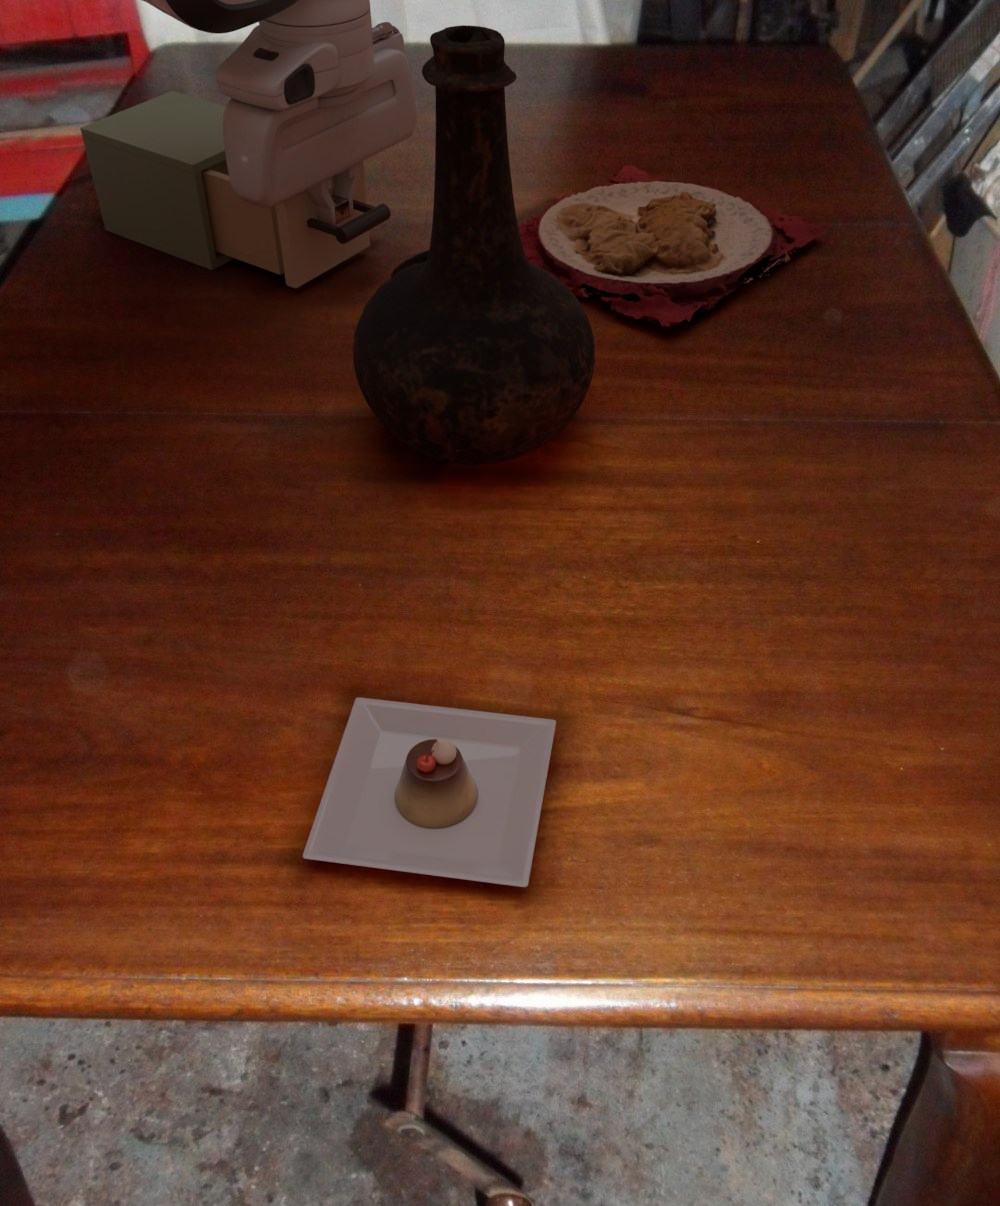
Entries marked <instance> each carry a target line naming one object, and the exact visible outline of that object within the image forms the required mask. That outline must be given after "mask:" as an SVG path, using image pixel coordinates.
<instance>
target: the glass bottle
mask: <svg viewBox="0 0 1000 1206" xmlns="http://www.w3.org/2000/svg"><path fill="white" fill-rule="evenodd" d="M429 43H430V45H431V48H432V52H433V55H432V56H431V57H430V58H429V59H428V60H427V61H426V62H425V63H424V64H423V66H422V69H421V75H422V77H423V79H424V80H425V82H426V83H428V84H429V85H431V86H433V87H434V88H435V89H434V90H435V147H434V150H435V151H434V154H435V155H434V187H433V210H432V223H431V233H430V242H429V249H428V250H424V251H423V252H420V253H417V254H414V255H413V256H412V257H409V258H407V259H405V260H404V261H402V262H401V263H400V264H398V266H397V267H394V269H393V270H392V272H391V273H390V277H389V278H388V279H386V280H385V281H384V282H383V283H382V284H381V285H380V286H379V287H378V288H377V289H376V291H375V292H374V294H373V295H372V296H371V297H370V299H368V301H367V302H366V304H365V305H364V307H363V311H362V313H361V315H360V317H359V319H358V322H357V325H356V327H355V330H354V334H353V345H352V358H353V367H354V374H355V375H356V381H357V383H358V386H359V387H358V388H359V389H360V391H361V394H362V396H363V398H364V400H365V401H366V403H367V406H368V407H369V409H370V410H371V411H372V413H373V414H374V416H375V417H376V418H377V420H378V421H379V422H380V423H381V425H383V426H384V427H385V429H386V430H388V431H389V433H391V434H392V435H393V436H394V437H395V438H397V440H399V441H400V442H402V443H403V444H404V445H405V446H406V447H409V448H410V449H412V450H414V451H415V452H417V453H420V454H421V455H424V456H426V457H429V458H432V459H433V460H437V461H441V462H444V463H449V464H455V465H461V466H462V465H463V466H483V465H493V464H497V463H505V462H507V461H512V460H515V459H517V458H520V457H523V456H525V455H527V454H529V453H531V452H533V451H535V450H538V449H539V448H541V447H542V446H544V445H546V444H547V443H548V442H549V441H551V440H553V438H555V437H556V436H557V435H558V434H559V433H560V432H561V431H563V429H565V427H566V426H567V425H568V424H569V423H570V422H571V420H572V419H573V418H574V417H575V415H576V413H577V412H578V411H579V409H580V408H581V405H582V404H583V402H584V400H585V398H586V396H587V393H588V391H589V389H590V387H591V384H592V379H593V375H594V371H595V370H594V369H595V363H596V347H595V346H596V345H595V338H594V333H593V329H592V326H591V323H590V320H589V317H588V314H587V313H586V311H585V309H584V307H583V305H582V304H581V302H580V301H579V299H578V298H577V296H576V297H575V295H574V294H573V293H572V292H571V290H570V289H569V288H568V287H567V286H566V285H565V284H564V283H562V282H561V281H560V280H559V279H558V278H557V277H555V276H554V275H553V274H551V273H549V272H548V271H546V270H544V269H543V268H541V267H539V266H537V265H534V264H532V263H530V262H528V260H527V258H526V255H525V252H524V249H523V245H522V241H521V238H520V234H519V229H518V224H519V223H518V218H517V212H516V211H517V210H516V204H515V200H514V199H515V198H514V192H513V182H512V175H511V174H512V173H511V165H510V163H511V162H510V153H509V152H510V151H509V142H508V141H509V140H508V139H509V138H508V127H507V109H506V89H505V87H506V88H507V87H509V86H510V85H512V84H513V83H514V82H516V80H517V79H518V75H517V74H516V72H514V71H513V70H512V68H510V66H509V65H508V64H507V63H506V61H505V50H506V49H505V48H506V47H505V46H506V41H505V38H504V36H503V35H502V33H501V32H499V31H498V30H496V29H493V28H489V27H486V26H479V25H453V26H448V27H445V28H443V29H441V30H438V31H436V32H433V33H431V35H430V37H429Z"/></svg>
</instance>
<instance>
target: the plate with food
mask: <svg viewBox="0 0 1000 1206" xmlns="http://www.w3.org/2000/svg"><path fill="white" fill-rule="evenodd" d="M659 173H660V174H661V171H660V172H659ZM608 179H609V180H608V181H609V182H607V183H605V184H600V185H594V186H591V188H587V189H586V191H584V192H576V193H574V192H572V193H569V194H568V195H562V197H560V198H558V197H556V198H554V203H553V204H551V205H548V206H546V207H544V212H543V213H540V214H536V215H531V216H530V219H527V220H526V222H525V223H524V222H521V223H520V224H519V225H518V229H519V234H520V238H521V241H522V245H523V249H524V252H525V255H526V258H527V260H528V262H530V263H532V264H534V265H537V266H539V267H541V268H543V269H544V270H546V271H548V272H549V273H551V274H553V275H554V276H555V277H557V278H558V279H559V280H560V281H561V282H562V283H564V284H565V285H566V286H567V287H568V288H569V289H570V290H571V292H572V293H573V294H574V295H575V297H576V298H577V297H578V298H583V299H586V298H589V297H590V296H593V295H594V293H596V294H597V295H600V294H601V293H600V292H598V291H603V292H606V294H603V295H602V296H600V301H603V302H606V303H610V302H611V304H610V310H611V312H617V313H618V314H620V315H621V314H622V315H623V316H624V317H626V318H633V319H635V320H643V319H647V321H648V322H652V321H654V322H653V324H656V321H658V323H659V325H660V327H661V328H669V327H671V326H675V325H679V324H680V323H681V322H683V321H684V320H685V321H687V322H688V323H689V322H691V320H692V318H693V315H694V313H695V312H696V311H698V310H699V309H700V308H702V309H703V310H707V311H711V309H712V308H716V305H718V302H719V300H721V299H723V298H724V296H725V297H727V296H728V295H729V294H731V293H733V292H734V291H735V290H736V289H738V288H739V287H740V286H741V285H742V284H744V285H745V284H749V283H750V281H751V282H753V281H754V278H753V277H751V276H750V277H749V276H747V277H745V278H743V279H742V280H739V279H740V278H741V276H742V275H743V274H744V273H746V272H747V271H748V270H749V269H750V268H751V267H752V266H753V265H755V264H757V263H759V262H760V261H761V263H760V265H761V266H762V267H761V269H762V271H763V272H762V273H761V274H758V275H757V277H758V278H760V279H761V278H762V276H763V274H764V276H765V277H766V276H768V277H769V276H770V275H771V274H770V273H769V271H770V269H772V268H774V267H776V266H777V265H779V266H781V264H788V262H789V261H791V257H793V254H795V253H796V250H799V249H801V248H802V247H804V246H806V245H807V244H809V243H810V242H812V241H813V240H815V239H816V238H817V237H818V236H820V234H821V233H822V232H824V230H825V228H826V225H827V224H826V223H825V221H823V222H821V223H820V224H819V223H818V222H817V220H816V219H814V218H813V219H809V220H805V216H803V215H794V216H790V215H788V214H785V213H782V212H780V210H778V209H776V210H775V211H774V210H771V207H770V206H767V207H765V208H764V209H762V208H761V206H759V205H758V202H753V201H752V200H750V199H747V198H742V197H741V196H740V195H732V194H728V193H727V192H725V190H724V191H721V189H720V188H718V186H717V185H714V186H713V185H708V184H704V185H702V184H701V183H697V184H695V183H692V182H688V181H685V182H682V181H668V182H667V181H664V180H663V179H662V177H660V176H656V177H655V178H654V177H653V178H650V176H649V174H648V172H646V171H645V170H641V169H639V168H638V167H636V166H635V165H624V166H623V167H622V168H621V170H620V171H619V172H618V173H617V172H613V177H612V176H610V177H609V178H608ZM765 273H769V274H765ZM738 280H739V281H738ZM581 285H586V286H589V288H594V289H596V290H598V291H594V292H592V291H590V290H587V287H586V286H581ZM609 293H610V294H609ZM630 294H631V295H632V294H633V295H635V294H636V295H637V296H638V297H639V299H638V298H635V299H632V300H626V298H623V295H630Z"/></svg>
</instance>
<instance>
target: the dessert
mask: <svg viewBox="0 0 1000 1206" xmlns="http://www.w3.org/2000/svg"><path fill="white" fill-rule="evenodd" d="M556 726H557V721H556V720H555V719H552V718H544V717H543V718H542V717H534V716H524V715H517V714H508V713H499V712H492V711H491V712H490V711H482V710H473V709H465V708H456V707H447V706H439V705H430V704H429V705H428V704H419V703H414V702H413V703H411V702H404V701H403V702H402V701H394V700H386V699H385V700H384V699H378V698H368V697H356V698H355V699H354V703H353V705H352V708H351V711H350V714H349V717H348V719H347V723H346V725H345V729H344V732H343V734H342V738H341V741H340V744H339V746H338V749H337V753H336V755H335V758H334V762H333V764H332V767H331V770H330V773H329V775H328V779H327V782H326V785H325V788H324V790H323V793H322V796H321V799H320V803H319V805H318V808H317V811H316V814H315V818H314V820H313V823H312V826H311V828H310V829H311V830H310V831H309V835H308V838H307V841H306V844H305V847H304V850H303V853H302V858H303V859H304V860H312V861H321V862H328V863H336V864H344V865H351V866H359V867H364V868H365V867H366V868H373V869H374V868H375V869H382V870H389V871H397V872H404V873H411V874H420V875H426V876H427V875H429V876H435V877H444V878H449V879H450V878H451V879H457V880H458V879H459V880H466V881H474V882H480V883H481V882H482V883H490V884H496V885H504V886H512V887H520V888H527V887H528V886H529V882H530V876H531V870H532V864H533V858H534V853H535V846H536V842H537V835H538V830H539V823H540V820H541V819H540V818H541V812H542V807H543V800H544V795H545V789H546V784H547V777H548V772H549V767H550V760H551V754H552V749H553V743H554V738H555V733H556Z"/></svg>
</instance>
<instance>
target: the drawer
mask: <svg viewBox="0 0 1000 1206" xmlns="http://www.w3.org/2000/svg"><path fill="white" fill-rule="evenodd" d="M359 166H360V176H359V179H358V183H357V186H356V190H355V193H354V196H353V197H352V198H353V209H354V214H353V216H351V217H349V218H347V219H345V220H344V221H342V222H340V223H338V224H337V225H335V226H334V225H331V224H328V223H325V222H322V221H319V220H317V212H316V204H314V202H313V201H312V199H311V197H310V196H309V194H308V193H307V191H306V190H305V191H303V192H301V193H299V194H297V195H295V196H293V197H291V198H289V199H287V200H285V201H283V202H281V203H279V204H277V205H275V206H274V207H271V208H263V207H260V206H257V205H254V204H251V203H248V202H245V201H243V200H242V199H241V198H240V197H239V196H238V195H237V194H236V193H235V192H234V191H233V189H232V186H231V183H230V179H229V173H228V168H227V161H226V160H223V161H221V162H219V163H217V164H215V165H213V166H210V167H208V168H206V169H204V170H202V171H201V176H202V181H203V187H204V192H205V198H206V203H207V209H208V215H209V220H210V226H211V231H212V237H213V242H214V248H215V251H216V252H219V253H222V254H224V255H227V256H230V257H233V258H235V259H234V260H238V261H240V262H244V263H246V264H249V265H251V266H254V267H257V268H260V269H262V270H266V271H268V272H271V273H274V274H276V275H279V276H280V275H283V274H284V279H285V285H286V286H287V287H290V288H293V289H298V288H299V287H302V286H303V285H305V284H307V283H308V282H310V281H313V280H314V279H315V278H317V277H319V276H320V275H322V274H324V273H326V272H328V271H329V270H331V269H333V268H334V267H336V266H338V265H340V264H341V263H343V262H345V261H347V260H348V259H351V257H354V256H355V255H357V254H358V253H361V252H362V251H364V250H366V249H367V248H369V247H370V246H371V239H370V237H371V236H370V230H372V229H374V228H375V227H378V226H379V225H381V224H383V223H385V222H387V221H388V220H390V219H391V215H392V214H391V209H390V207H389V206H388V205H387V204H385V203H380V204H378V205H376V206H374V205H371V204H370V203H369V204H368V201H367V191H366V190H367V188H366V177H365V166H364V161H362V162H360V163H359ZM336 177H337V175H334V176H332V177H331V181H332V188H331V189H329V190H328V189H327V190H328V192H329V194H330V196H331V195H333V190H334V185H335V181H336Z"/></svg>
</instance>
